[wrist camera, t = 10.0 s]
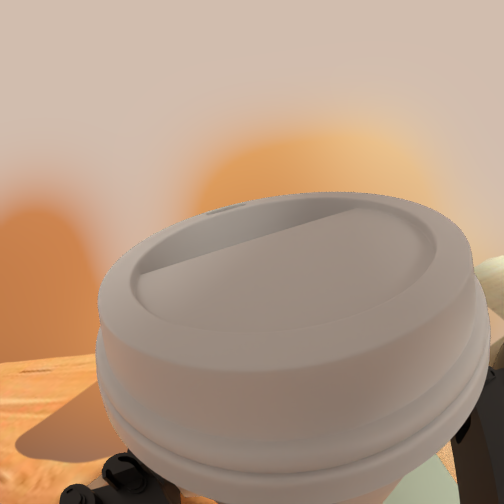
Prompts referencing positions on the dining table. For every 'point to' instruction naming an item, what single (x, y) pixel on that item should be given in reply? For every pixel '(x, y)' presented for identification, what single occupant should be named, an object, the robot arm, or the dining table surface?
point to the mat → (426, 486)
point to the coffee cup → (294, 347)
